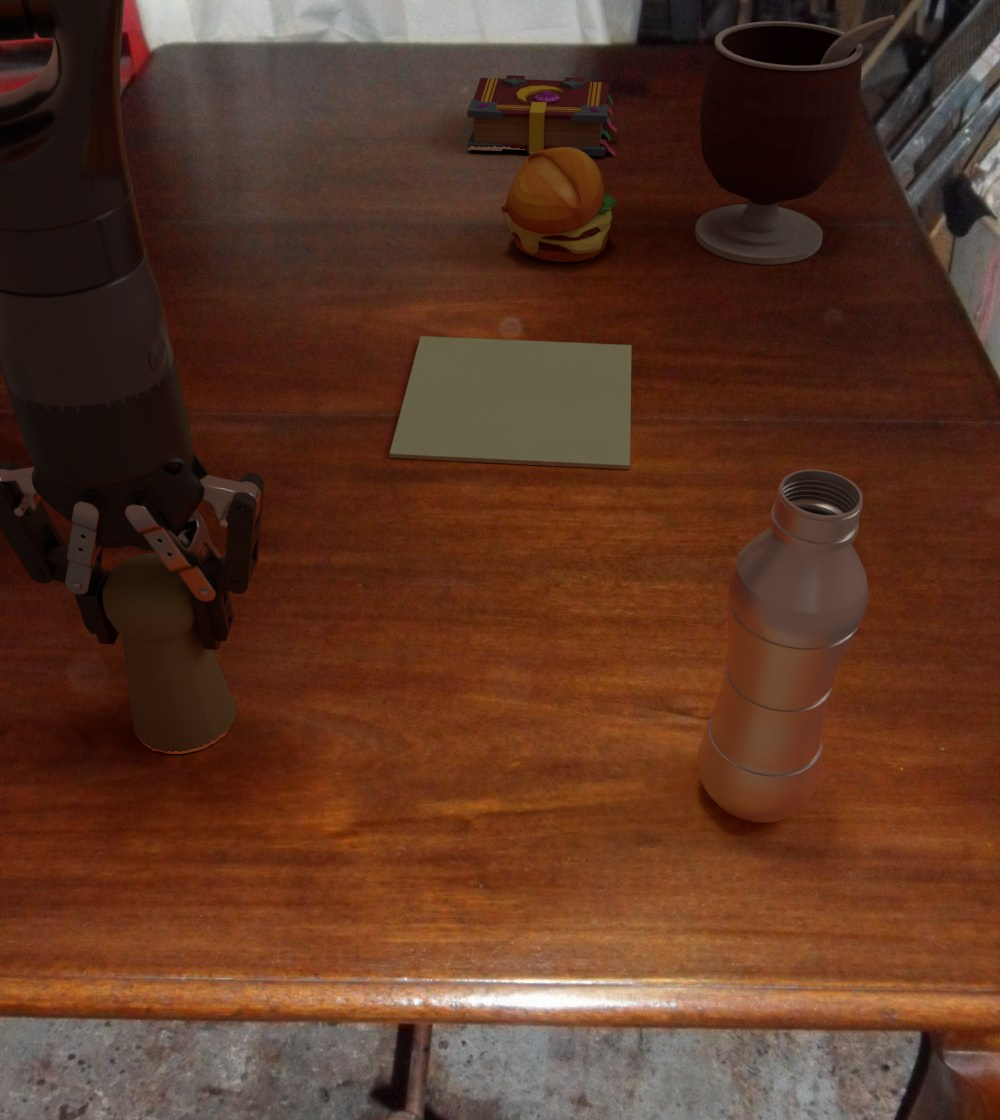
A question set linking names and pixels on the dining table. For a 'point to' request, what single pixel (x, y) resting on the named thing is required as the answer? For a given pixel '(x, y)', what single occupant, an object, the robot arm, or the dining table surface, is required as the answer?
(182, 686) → the cork
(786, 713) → the plastic bottle
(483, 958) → the dining table surface
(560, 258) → the cheeseburger
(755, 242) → the mate gourd
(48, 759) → the dining table surface
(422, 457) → the mat
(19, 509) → the robot arm
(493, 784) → the dining table surface
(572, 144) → the decorative book
